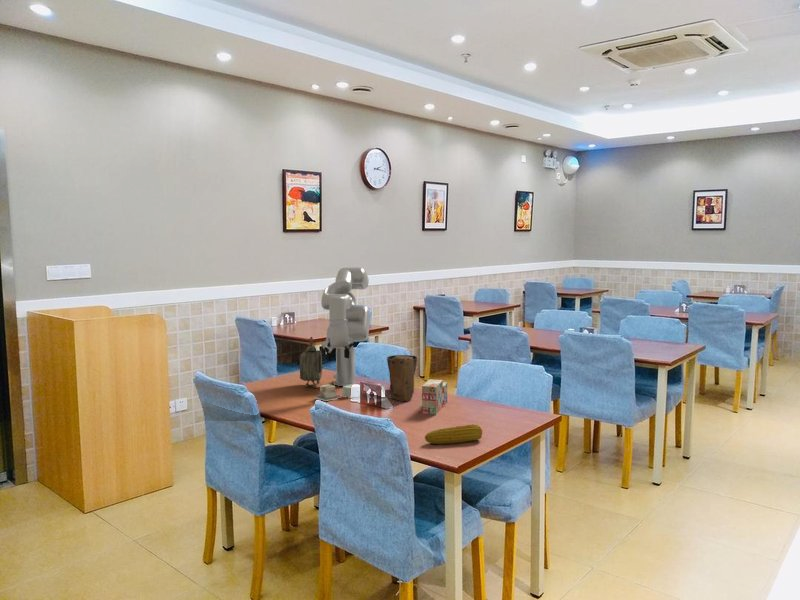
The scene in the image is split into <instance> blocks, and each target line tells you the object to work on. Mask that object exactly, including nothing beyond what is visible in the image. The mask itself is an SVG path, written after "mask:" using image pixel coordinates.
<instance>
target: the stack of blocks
mask: <svg viewBox="0 0 800 600" xmlns="http://www.w3.org/2000/svg"><path fill="white" fill-rule="evenodd" d="M421 390H422V391H421V414H422V415H430V414H432V415H433V414H434V415H433V416H437V415H438V414H439V413H440V412H441V410H442V409H443V408H444V406H445V405H446V404H447V403H448V382H447V381H444V380H443V379H428V380H427V381H425V383H424V384H422V386H421ZM446 402H447V403H446ZM443 405H444V406H443ZM442 407H443V408H442ZM441 408H442V409H441ZM439 411H440V412H439ZM438 412H439V413H438ZM437 413H438V414H437ZM436 414H437V415H436Z"/></svg>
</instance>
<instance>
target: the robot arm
mask: <svg viewBox="0 0 800 600" xmlns="http://www.w3.org/2000/svg"><path fill="white" fill-rule="evenodd" d="M368 287H369V276H368V274H367V271H366V270H365V268H363V267H353V266H352V267H341V268H339V270H338V271H337V275H336V277H335V281H334V282H333V283H331V284H329V285H328V286H327V287H325V288H324V290H323V293H322V296H321V301H320V302H321V303H320V304H321V307H322V308H323V309H324V310H327V311H329V312H328V314H329V315H328V316H329V318H328V319H329V320H328V321H329V325H328V326H327V330H326V335H325V336H326V338H325V340H324V342H322V343H321V346H322V349H323V350H324V351H325V353H326V360H327V362H333V353H332V351H333V350H334V349H335V359H336V360H335V362H336V363H335V370H336V373H335V375H333V377H332V378H333V379H335V380H334V381H333V386H335V385H338V386H337V387H339V386H347V385H352V384H353V383H354V382H355V380H356V350H355V348H354V345H353V344H354V342H355V343H357V342H361V343H362V342H366V341H367V340H368V339H369V334H370V333H369V332H370V318H371V317H370V309H369V307H368V306H367V305H362V304H359V305H357V299H356V296H355V295H354V294H353V293H352V292H351V291H352V290H366V289H367V288H368Z"/></svg>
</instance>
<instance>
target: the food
mask: <svg viewBox="0 0 800 600" xmlns="http://www.w3.org/2000/svg"><path fill="white" fill-rule="evenodd" d="M482 436H483V428H482V427H481V426H480V425H478V424H465V425H458V426H452V427H444V428H438V429H435V430H432V431H429V432H428V433H426V434H425V435H424V439H425V441H426V442H427V443H429V444H434V445H445V444H458V443H465V442H474V441H478V440H481V439H482Z"/></svg>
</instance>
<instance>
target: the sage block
mask: <svg viewBox="0 0 800 600" xmlns="http://www.w3.org/2000/svg"><path fill="white" fill-rule="evenodd" d="M351 387H352V385H347V386H343V387H342V397H343V396H346V397H350V395H351Z"/></svg>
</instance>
